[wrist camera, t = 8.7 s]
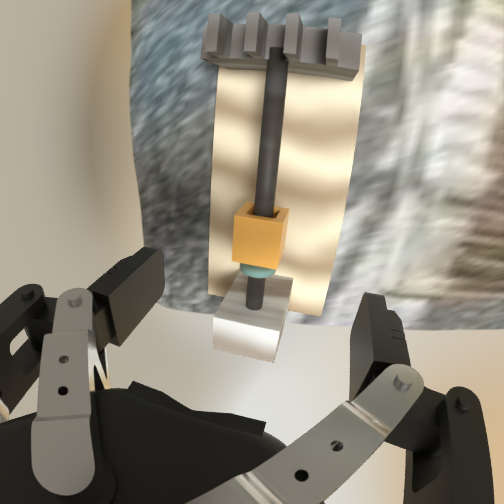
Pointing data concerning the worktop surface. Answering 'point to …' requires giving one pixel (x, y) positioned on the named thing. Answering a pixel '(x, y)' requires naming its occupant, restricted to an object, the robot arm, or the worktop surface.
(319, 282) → the cord board
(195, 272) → the worktop surface
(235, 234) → the sleeve
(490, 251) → the worktop surface
